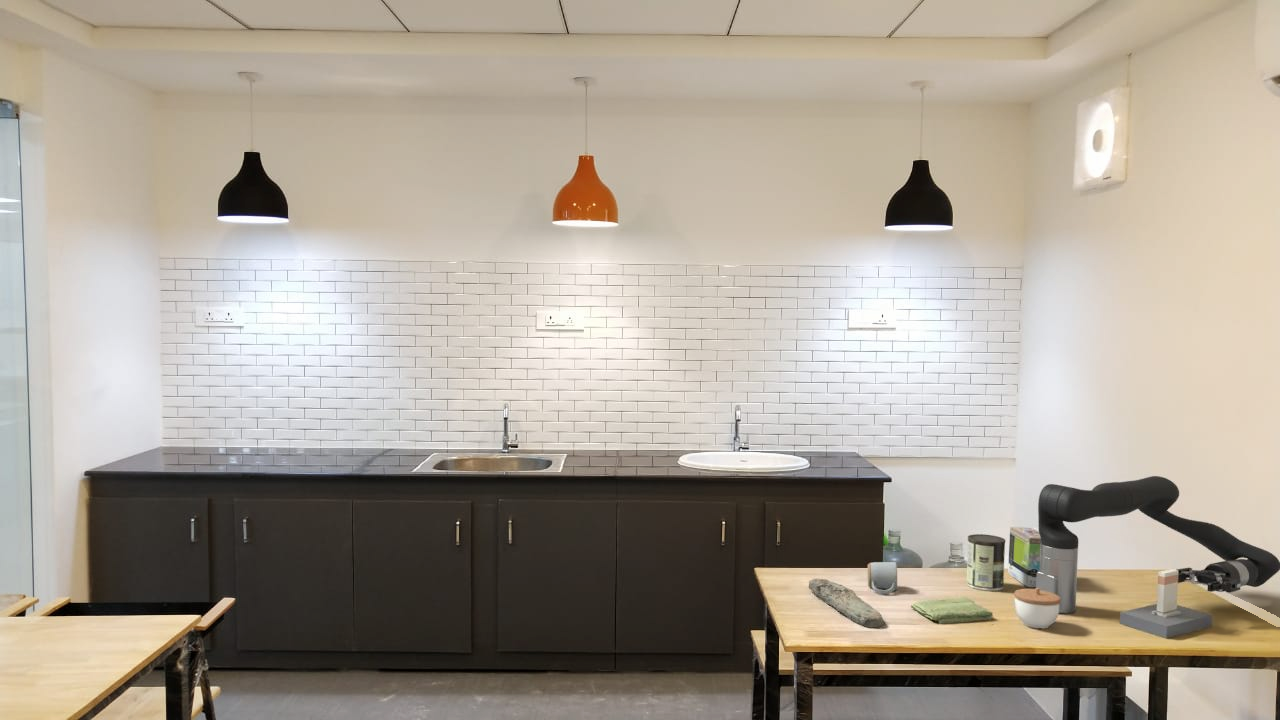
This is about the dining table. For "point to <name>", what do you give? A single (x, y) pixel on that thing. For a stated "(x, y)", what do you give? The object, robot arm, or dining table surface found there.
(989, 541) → the coffee can
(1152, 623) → the grey slotted block
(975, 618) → the washcloth
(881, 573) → the ceramic mug
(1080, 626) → the dining table surface
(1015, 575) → the green printed box
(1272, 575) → the robot arm
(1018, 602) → the lidded jar
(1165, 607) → the banded cream bar
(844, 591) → the long grey stone
